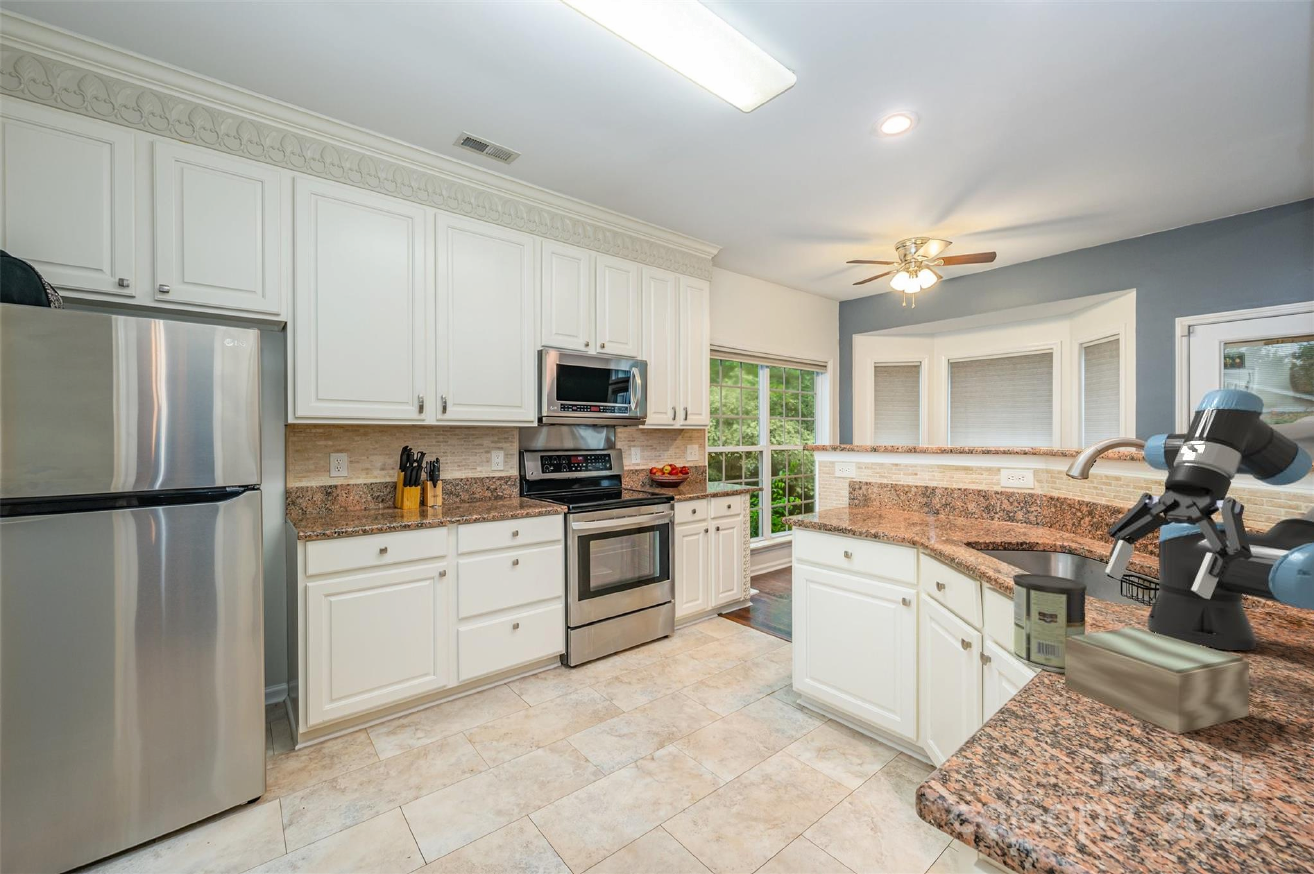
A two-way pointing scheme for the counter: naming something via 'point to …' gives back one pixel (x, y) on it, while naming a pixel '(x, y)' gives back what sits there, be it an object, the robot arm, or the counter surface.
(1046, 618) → the coffee can
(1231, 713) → the riser
